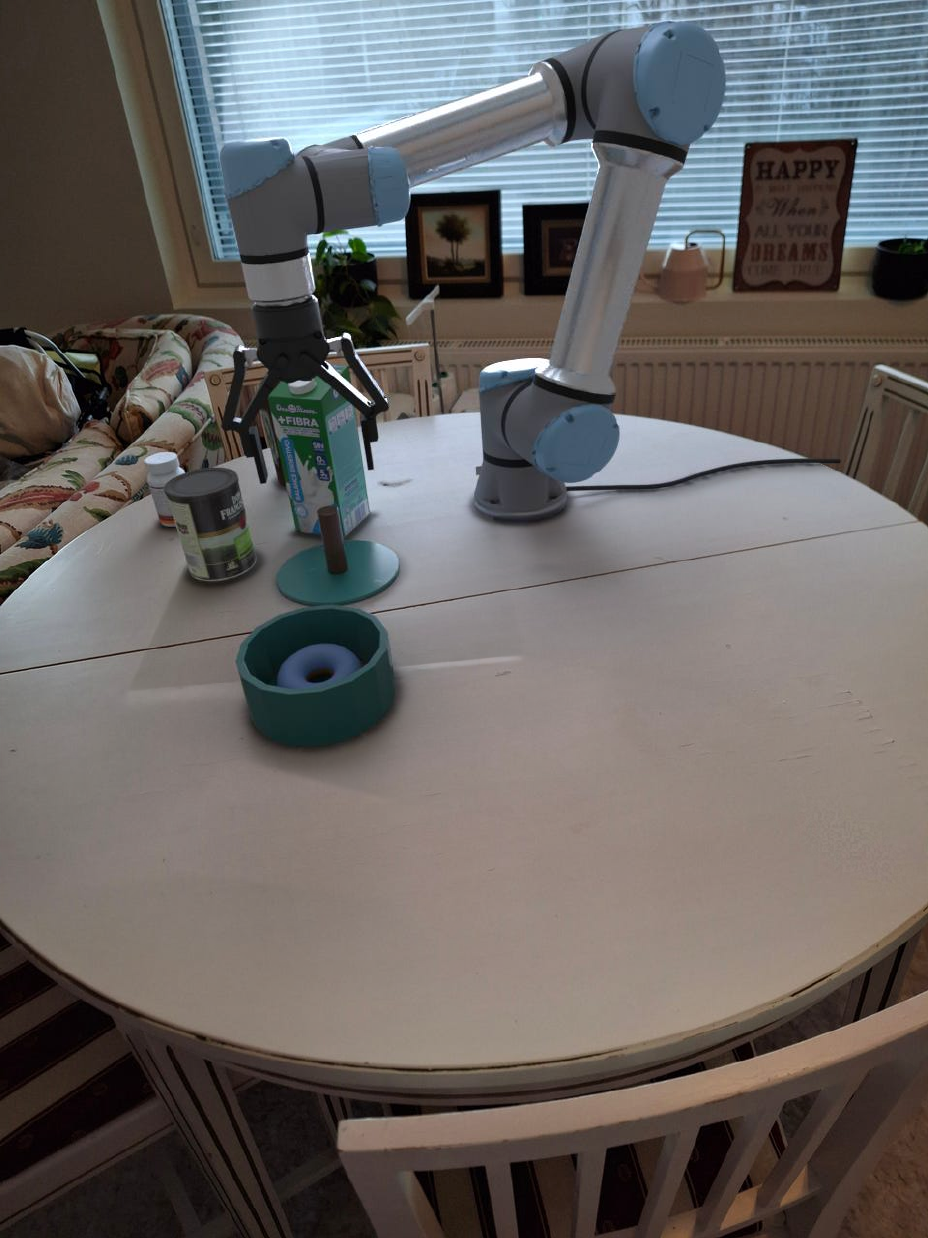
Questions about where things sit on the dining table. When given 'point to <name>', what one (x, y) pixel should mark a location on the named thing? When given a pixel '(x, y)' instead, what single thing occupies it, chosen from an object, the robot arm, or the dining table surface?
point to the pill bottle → (162, 482)
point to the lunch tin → (327, 707)
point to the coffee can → (211, 523)
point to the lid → (337, 567)
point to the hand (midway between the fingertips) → (317, 472)
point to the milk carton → (319, 452)
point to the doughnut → (317, 666)
